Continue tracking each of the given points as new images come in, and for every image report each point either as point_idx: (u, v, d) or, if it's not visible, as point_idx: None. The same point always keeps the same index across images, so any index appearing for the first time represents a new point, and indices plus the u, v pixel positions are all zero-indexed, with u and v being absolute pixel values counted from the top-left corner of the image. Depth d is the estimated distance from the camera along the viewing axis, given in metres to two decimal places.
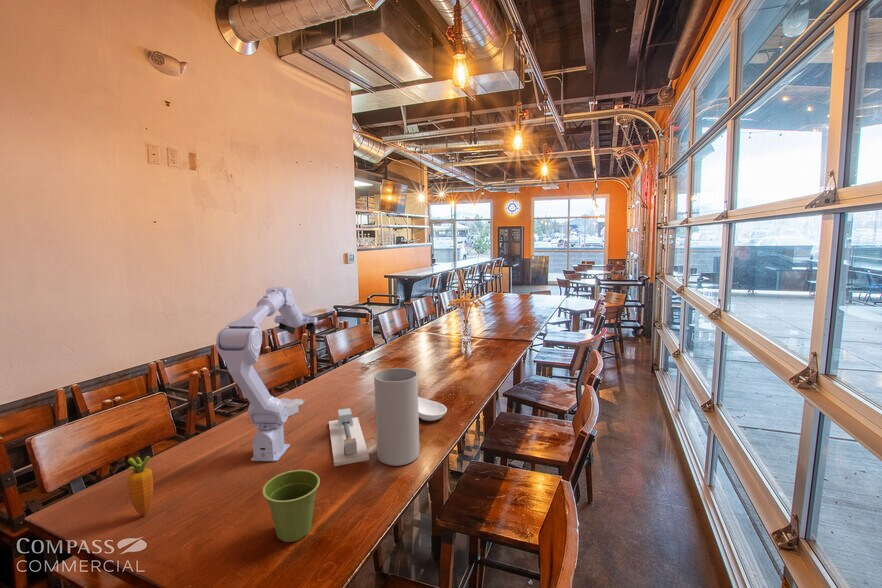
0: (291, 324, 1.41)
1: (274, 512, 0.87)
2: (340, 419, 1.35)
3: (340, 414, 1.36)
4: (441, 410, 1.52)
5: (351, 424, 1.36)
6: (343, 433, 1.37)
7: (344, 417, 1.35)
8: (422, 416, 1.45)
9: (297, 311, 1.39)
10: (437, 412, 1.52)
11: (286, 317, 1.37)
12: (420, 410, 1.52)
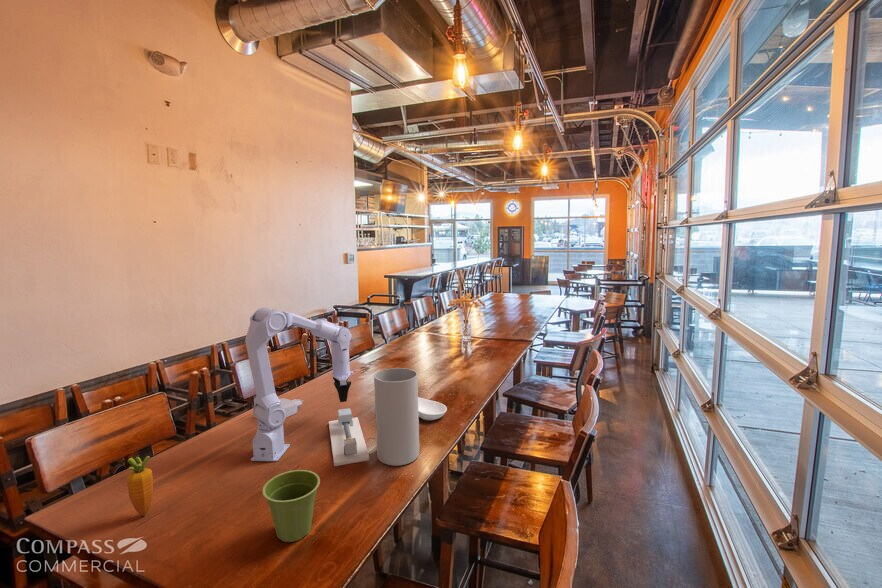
0: None
1: (274, 512, 0.87)
2: (340, 419, 1.35)
3: (340, 414, 1.36)
4: (441, 409, 1.52)
5: (351, 424, 1.36)
6: (343, 433, 1.37)
7: (344, 417, 1.35)
8: (423, 416, 1.45)
9: (344, 360, 1.40)
10: (437, 411, 1.52)
11: (333, 360, 1.41)
12: (420, 410, 1.52)
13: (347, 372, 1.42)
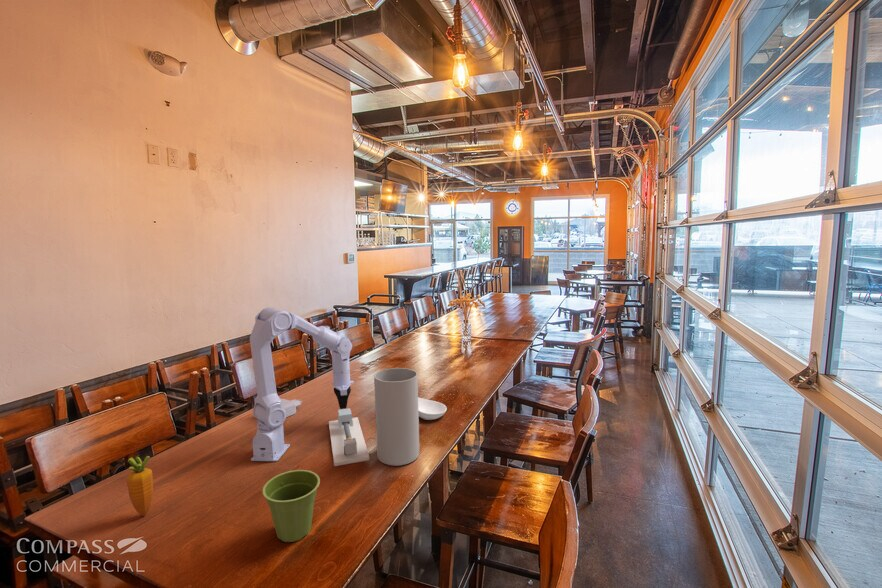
0: (333, 381, 1.43)
1: (274, 512, 0.87)
2: (340, 419, 1.35)
3: (340, 414, 1.36)
4: (440, 408, 1.53)
5: (351, 424, 1.36)
6: (343, 433, 1.37)
7: (344, 417, 1.35)
8: (424, 415, 1.46)
9: (345, 371, 1.41)
10: (436, 411, 1.53)
11: (333, 370, 1.41)
12: (419, 410, 1.52)
13: (347, 382, 1.42)
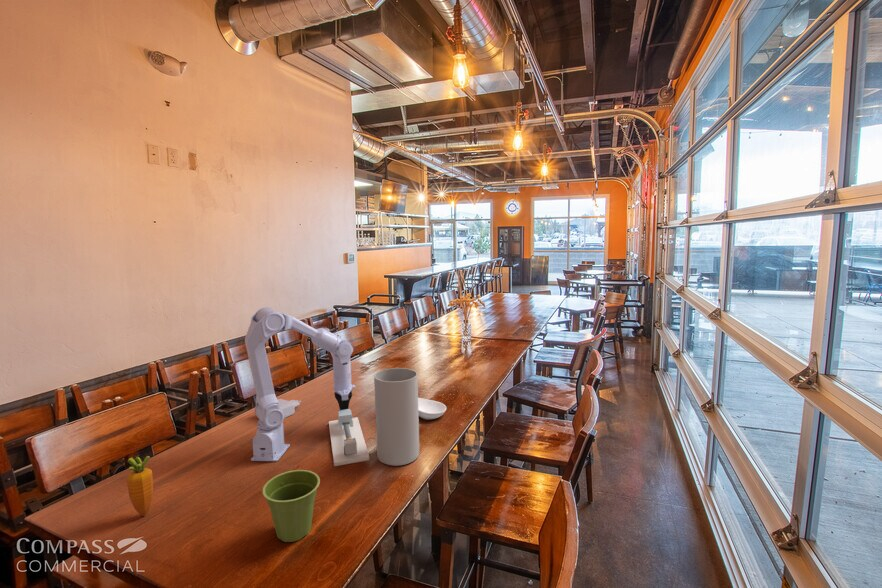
0: (334, 385, 1.39)
1: (274, 512, 0.87)
2: (340, 420, 1.34)
3: (340, 415, 1.35)
4: (439, 408, 1.54)
5: (351, 425, 1.36)
6: (343, 433, 1.37)
7: (344, 418, 1.35)
8: (425, 415, 1.46)
9: (345, 375, 1.37)
10: (435, 410, 1.53)
11: (334, 373, 1.37)
12: (419, 410, 1.52)
13: (349, 386, 1.38)
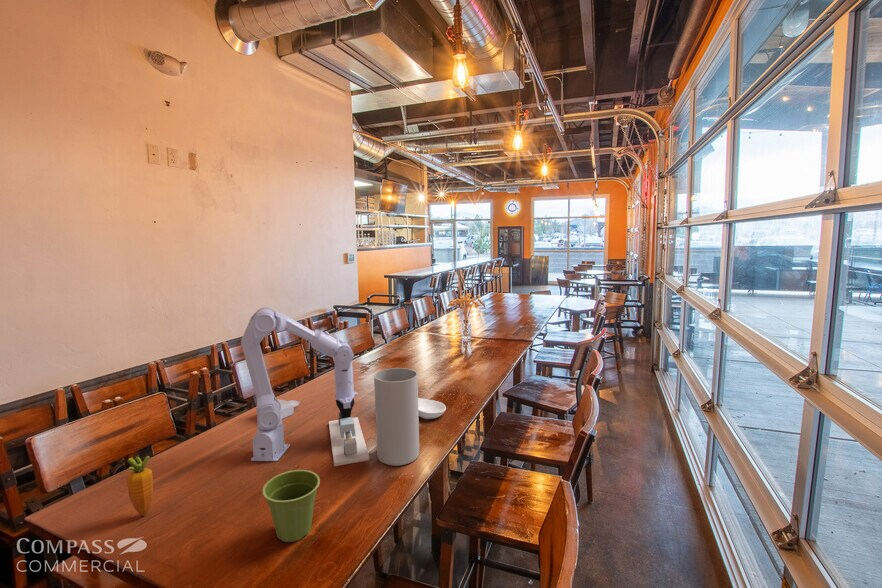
0: None
1: (274, 512, 0.87)
2: (342, 429, 1.28)
3: (342, 424, 1.29)
4: (439, 407, 1.54)
5: (354, 434, 1.29)
6: None
7: (346, 427, 1.28)
8: (426, 415, 1.46)
9: (344, 382, 1.30)
10: (435, 410, 1.54)
11: None
12: (418, 410, 1.52)
13: (351, 393, 1.32)
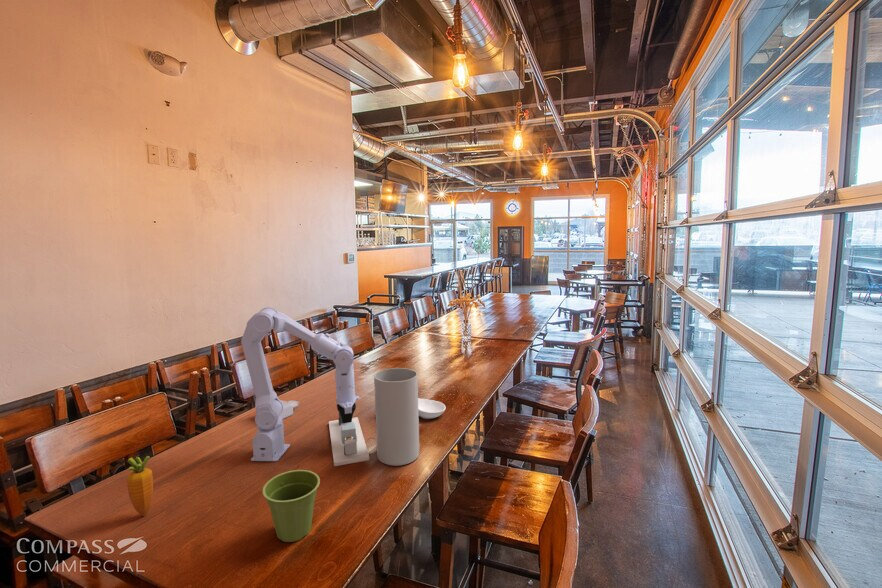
0: (336, 397, 1.28)
1: (274, 512, 0.87)
2: (343, 434, 1.24)
3: (343, 429, 1.25)
4: (438, 407, 1.55)
5: None
6: None
7: (347, 432, 1.25)
8: (426, 414, 1.46)
9: (344, 386, 1.26)
10: (434, 409, 1.54)
11: None
12: None
13: (352, 398, 1.28)
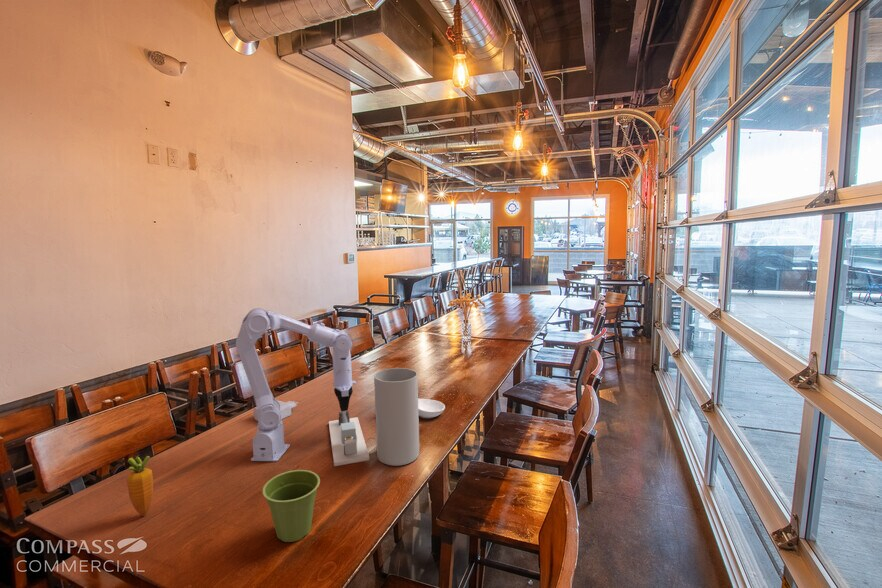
0: None
1: (274, 512, 0.87)
2: (343, 434, 1.24)
3: (343, 429, 1.25)
4: (436, 406, 1.56)
5: None
6: None
7: (347, 432, 1.25)
8: (427, 414, 1.47)
9: (343, 370, 1.30)
10: (433, 408, 1.55)
11: (333, 368, 1.32)
12: None
13: (349, 382, 1.32)
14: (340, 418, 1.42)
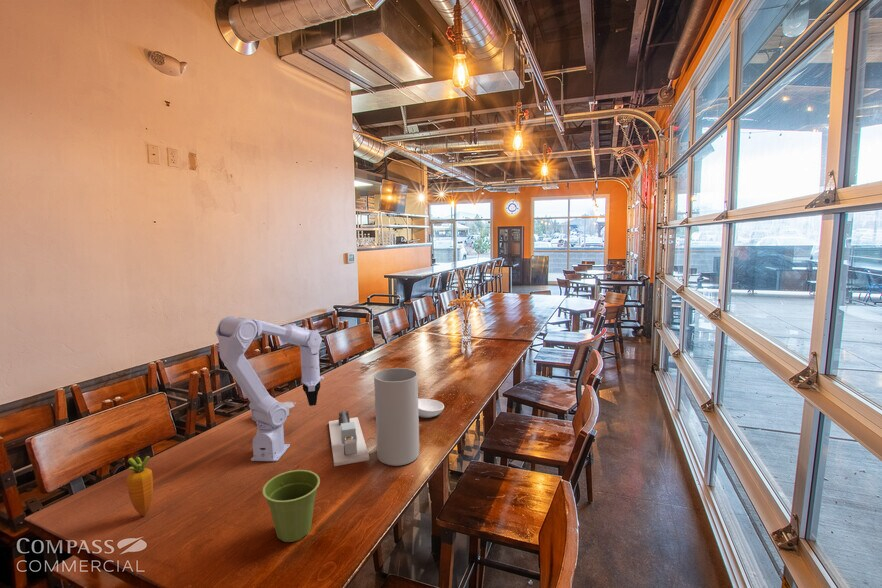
0: (302, 377, 1.37)
1: (274, 512, 0.87)
2: (343, 434, 1.24)
3: (343, 429, 1.25)
4: (435, 405, 1.56)
5: None
6: None
7: (347, 432, 1.25)
8: (428, 413, 1.47)
9: (315, 365, 1.36)
10: (431, 408, 1.56)
11: (302, 365, 1.35)
12: None
13: (317, 377, 1.37)
14: (340, 418, 1.42)
